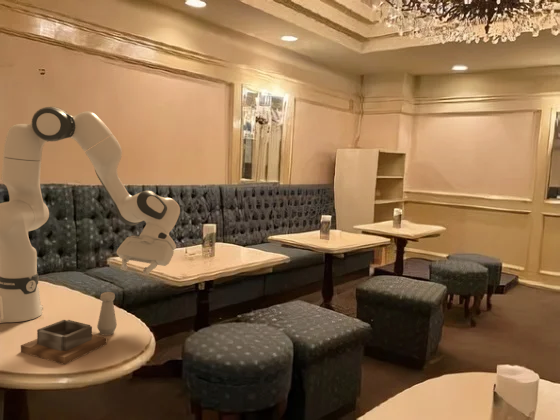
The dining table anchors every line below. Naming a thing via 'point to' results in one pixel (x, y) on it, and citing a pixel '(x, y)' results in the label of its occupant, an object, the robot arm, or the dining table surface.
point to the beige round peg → (107, 314)
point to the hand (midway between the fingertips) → (134, 271)
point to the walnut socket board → (63, 342)
